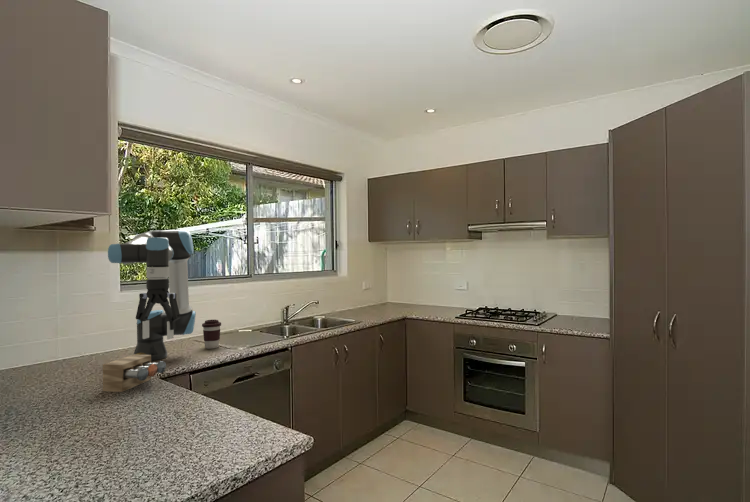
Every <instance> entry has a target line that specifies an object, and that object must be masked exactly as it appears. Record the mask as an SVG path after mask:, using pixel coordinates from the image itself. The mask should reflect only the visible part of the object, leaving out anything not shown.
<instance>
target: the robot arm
mask: <svg viewBox="0 0 750 502" xmlns="http://www.w3.org/2000/svg"><path fill="white" fill-rule="evenodd" d="M194 250H195V249H194V242H193V238H192V233H191V232H190V231H188V230H183V229H182V230H181V229H174V230H173V229H165V230H163V229H162V230H161V229H158V230H157V229H155V230H149V231H145V232H142V233H139V234H136V235H135V236H134V237H133V238H132V239H131V240H129V241H127V242H124V243H112V244H110V245H109V246H108V248H107V259H108V261H109V262H110V263H111V264H137V263H138V264H141V263H142V264H145V263H146V267H145V268H146V279H147V280H146V281H145V282H146V285H145V286H146V287H145V288H146V289H147V291H146V292H142V293H139V294H138V299H139V300H138V306H137V310H136V314H135V319H136V346H135V348H134V352H133V354H132V355H135V354H137V353H145V354H147V355H151V362H152V361H157V360H161V359H165V358H167V357H168V350H167V347H166V345H165V341H164V337H166V339H167V340H171V339H174V337H175V336H184V335H185V336H186V335H191V334H192V333H193V332H194V329H195V322H196V311H195V310H193V307H192V306H191V305H190V303H189V302H190V301H189V300H190V299H189V297H190V296H189V273H188V270H189V269H188V260H189V259H190V258H191V255H193V254H194ZM168 299H169V300H168ZM156 304H158V305H160V306H161V307H162V309H155V310H153V308H154V306H155V305H156Z"/></svg>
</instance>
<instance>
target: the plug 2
mask: <svg viewBox="0 0 750 502" xmlns="http://www.w3.org/2000/svg"><path fill="white" fill-rule="evenodd" d="M151 364H155V365H156V366H157V373H158V374H162V373H164V372H165V370H166V367H167V364H166V361H164V360H162V361H161V360H160V361H158V362H151V363H143V366H150V365H151Z"/></svg>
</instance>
